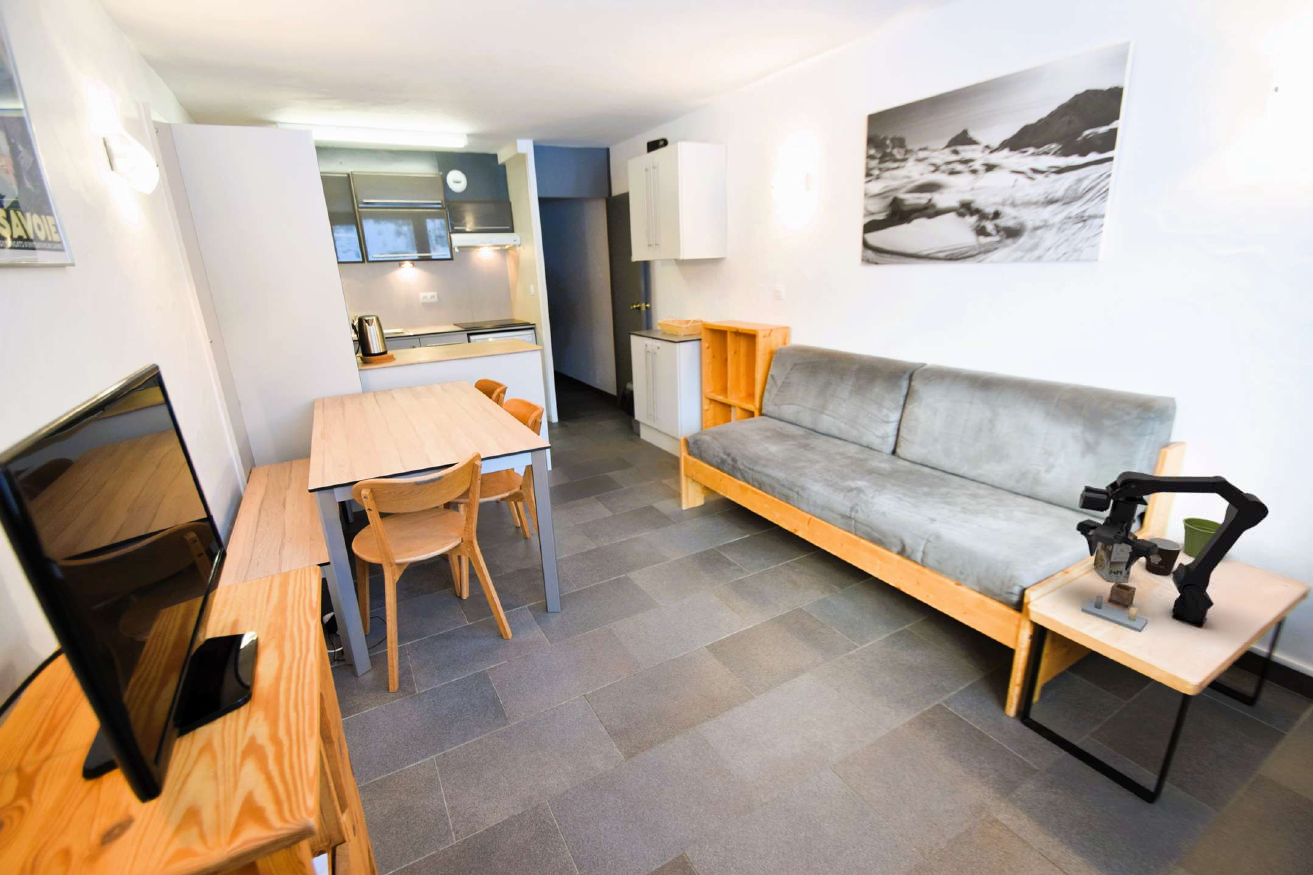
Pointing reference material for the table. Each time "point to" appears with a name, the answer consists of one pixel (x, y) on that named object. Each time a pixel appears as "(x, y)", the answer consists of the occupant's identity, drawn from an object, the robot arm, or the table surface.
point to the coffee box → (1113, 561)
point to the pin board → (1115, 614)
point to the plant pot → (1198, 534)
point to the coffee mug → (1163, 556)
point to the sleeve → (1122, 595)
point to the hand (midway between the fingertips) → (1108, 562)
